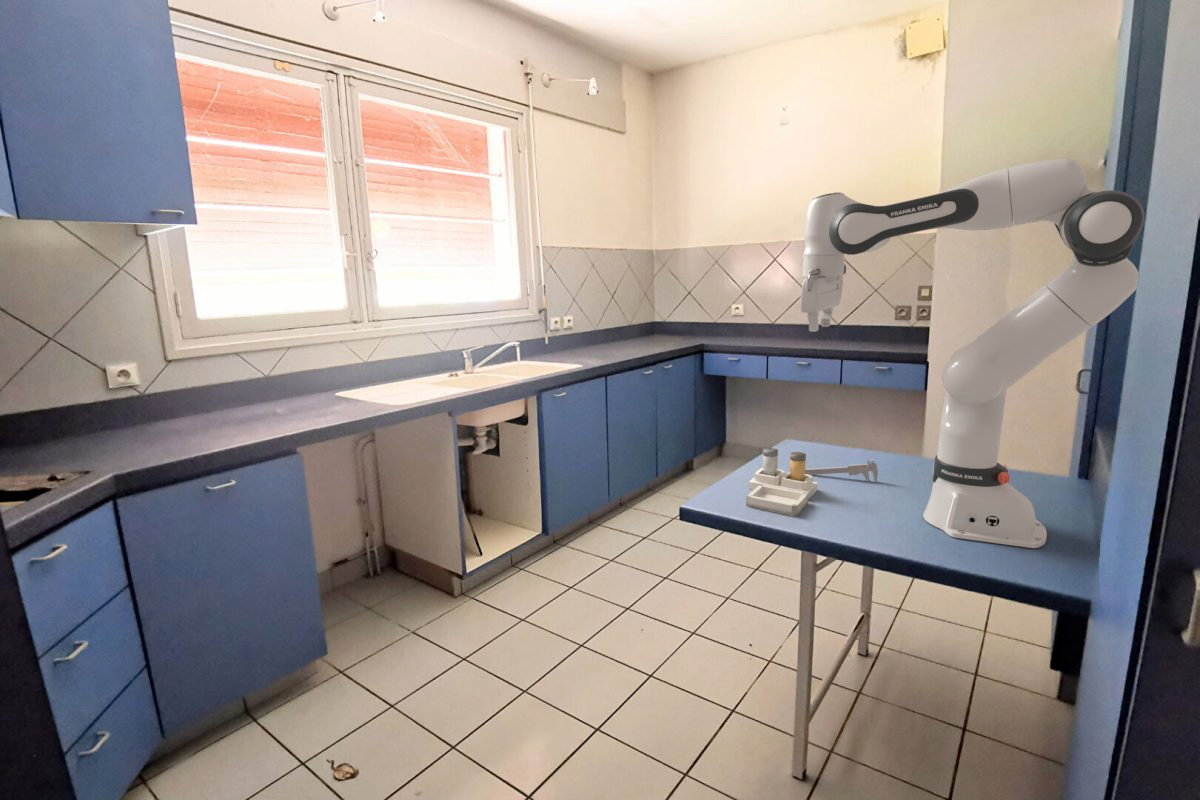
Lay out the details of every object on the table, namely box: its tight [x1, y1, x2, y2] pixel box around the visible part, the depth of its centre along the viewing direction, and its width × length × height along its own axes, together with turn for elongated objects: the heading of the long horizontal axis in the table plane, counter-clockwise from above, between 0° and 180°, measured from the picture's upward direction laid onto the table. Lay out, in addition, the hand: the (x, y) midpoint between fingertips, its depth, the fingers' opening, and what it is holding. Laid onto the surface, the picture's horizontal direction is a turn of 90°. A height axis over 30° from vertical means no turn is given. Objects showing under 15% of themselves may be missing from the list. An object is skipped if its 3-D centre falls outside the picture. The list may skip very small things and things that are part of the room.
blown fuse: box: [789, 451, 807, 482], centre depth 150 cm, size 4×4×8 cm
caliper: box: [805, 459, 879, 483], centre depth 159 cm, size 20×1×6 cm, turn 65°
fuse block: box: [748, 447, 819, 501], centre depth 152 cm, size 15×8×10 cm, turn 55°
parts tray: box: [745, 484, 809, 517], centre depth 144 cm, size 12×9×2 cm
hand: (819, 328), depth 140 cm, fingers open, 8 cm apart
